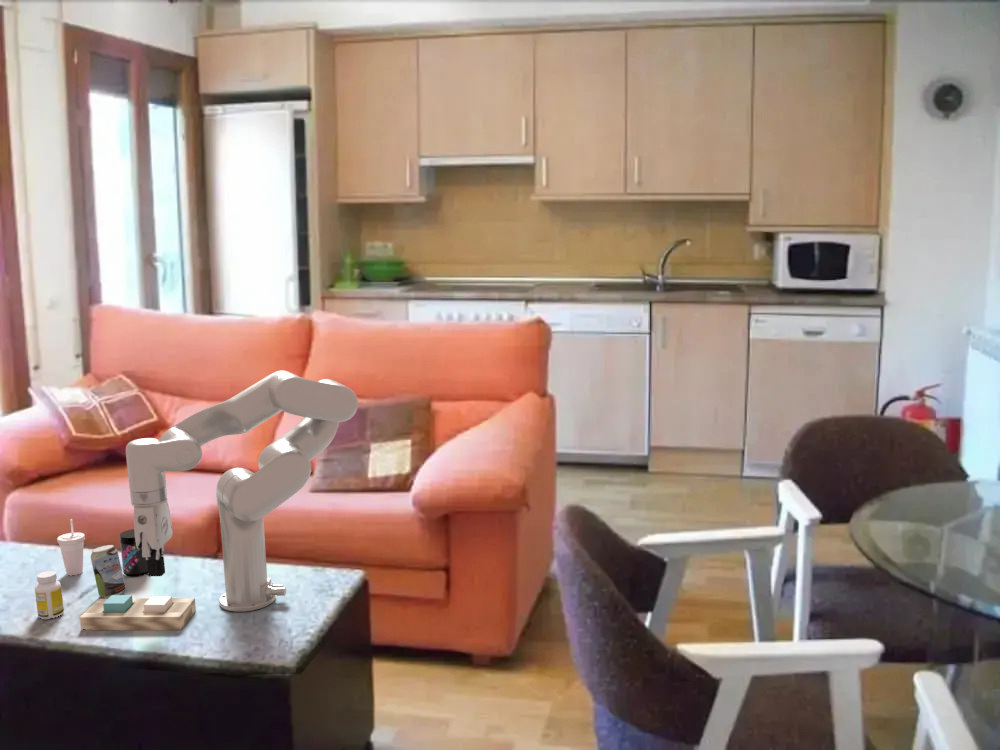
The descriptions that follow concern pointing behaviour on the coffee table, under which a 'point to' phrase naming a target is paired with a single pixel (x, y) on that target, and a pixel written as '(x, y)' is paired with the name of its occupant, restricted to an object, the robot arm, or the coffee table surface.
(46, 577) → the supplement bottle
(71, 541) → the smoothie
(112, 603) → the teal key
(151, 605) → the white key
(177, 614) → the key block
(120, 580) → the beverage can
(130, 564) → the supplement container
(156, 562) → the robot arm
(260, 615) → the coffee table surface
